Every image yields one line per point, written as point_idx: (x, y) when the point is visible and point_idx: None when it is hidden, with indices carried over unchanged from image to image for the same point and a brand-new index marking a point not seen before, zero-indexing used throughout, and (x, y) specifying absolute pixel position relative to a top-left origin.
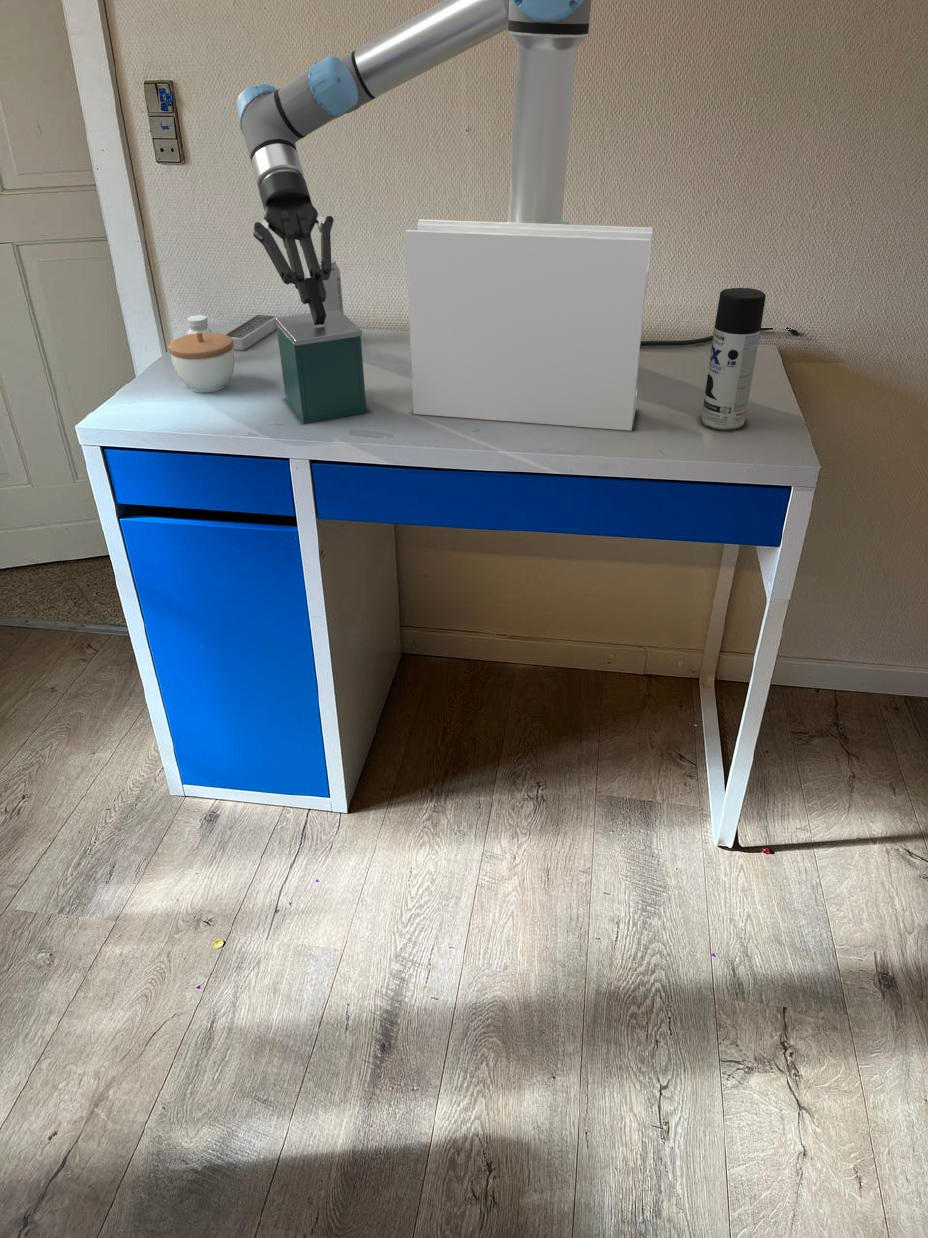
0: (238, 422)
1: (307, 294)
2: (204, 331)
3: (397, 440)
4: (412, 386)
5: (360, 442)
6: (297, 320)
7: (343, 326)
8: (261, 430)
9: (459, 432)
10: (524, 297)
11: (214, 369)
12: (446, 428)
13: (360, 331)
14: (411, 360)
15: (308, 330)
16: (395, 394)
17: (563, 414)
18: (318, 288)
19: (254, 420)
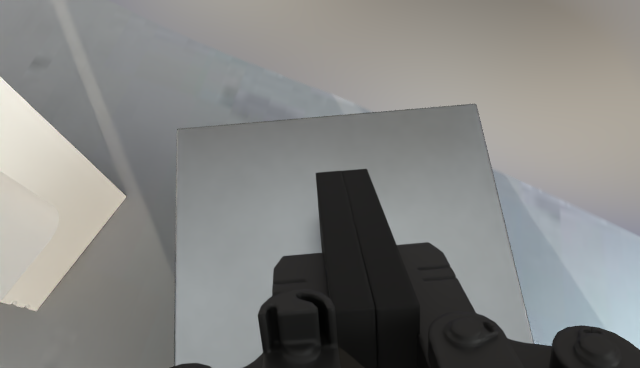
0: (591, 302)
1: (407, 259)
2: None
3: (220, 71)
4: (95, 167)
5: (301, 87)
6: None
7: (237, 206)
8: (526, 226)
9: (77, 67)
10: None
11: None
12: (93, 94)
13: (185, 129)
14: (56, 130)
15: (406, 205)
16: (114, 356)
17: None
18: (325, 254)
19: (546, 300)
